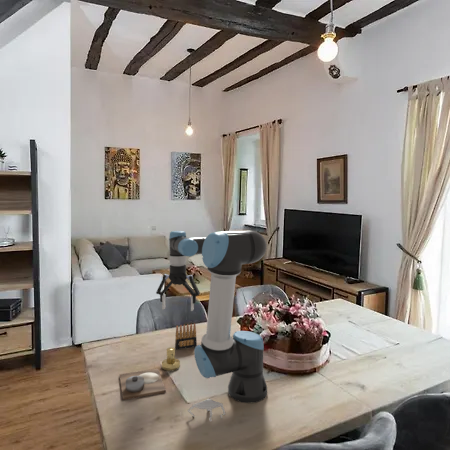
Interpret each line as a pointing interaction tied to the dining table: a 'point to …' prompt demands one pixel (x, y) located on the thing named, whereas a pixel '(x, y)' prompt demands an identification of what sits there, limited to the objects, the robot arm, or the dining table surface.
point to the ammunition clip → (185, 337)
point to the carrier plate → (147, 387)
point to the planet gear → (170, 361)
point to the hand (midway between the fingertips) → (178, 309)
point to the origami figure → (207, 406)
